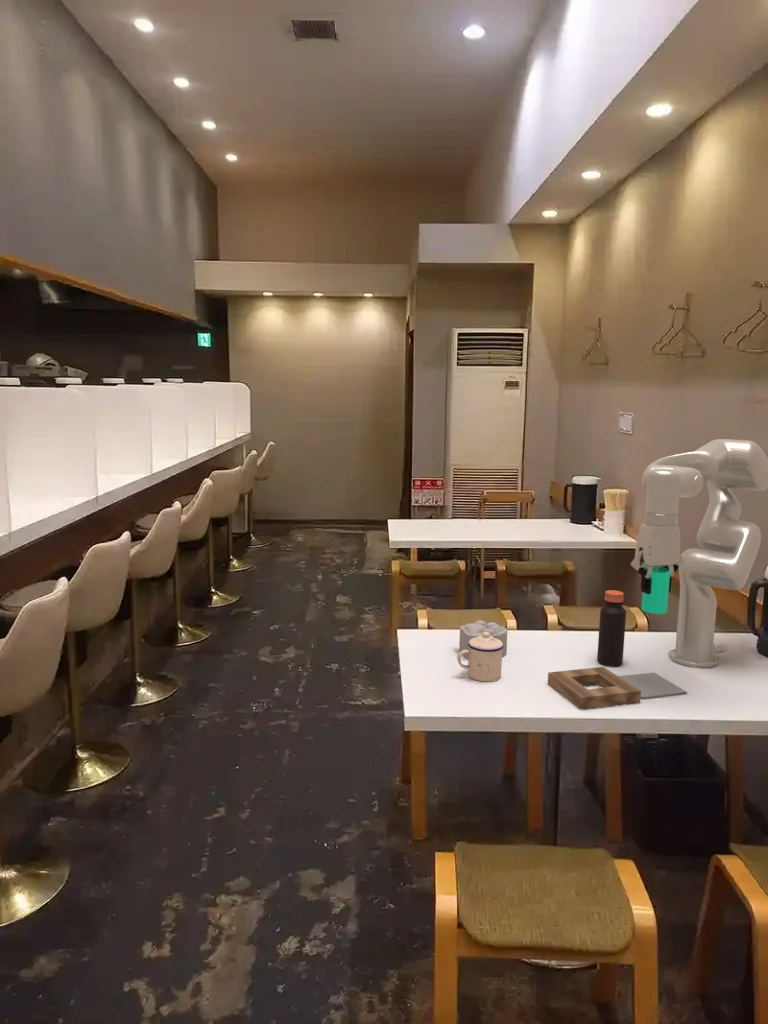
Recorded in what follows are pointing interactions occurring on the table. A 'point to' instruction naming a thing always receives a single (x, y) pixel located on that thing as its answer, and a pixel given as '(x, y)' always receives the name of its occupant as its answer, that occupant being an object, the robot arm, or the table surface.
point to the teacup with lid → (483, 658)
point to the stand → (583, 698)
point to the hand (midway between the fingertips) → (655, 591)
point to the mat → (653, 685)
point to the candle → (657, 592)
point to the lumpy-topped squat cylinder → (477, 630)
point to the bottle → (612, 630)
